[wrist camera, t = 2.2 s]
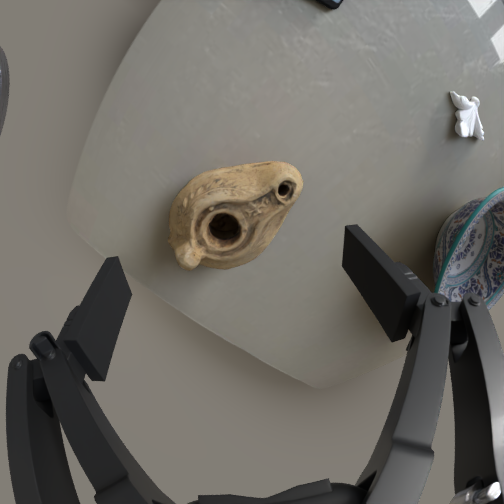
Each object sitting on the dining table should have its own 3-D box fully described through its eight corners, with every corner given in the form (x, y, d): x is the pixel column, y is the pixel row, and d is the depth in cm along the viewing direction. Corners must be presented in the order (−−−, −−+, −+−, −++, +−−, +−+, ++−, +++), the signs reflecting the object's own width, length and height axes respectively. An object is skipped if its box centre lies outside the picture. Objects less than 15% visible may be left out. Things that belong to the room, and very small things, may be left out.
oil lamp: (312, 187, 31) (338, 212, 24) (223, 270, 35) (225, 312, 29) (245, 119, 27) (254, 122, 20) (154, 217, 31) (137, 250, 24)
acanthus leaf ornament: (478, 138, 29) (486, 141, 28) (453, 140, 30) (461, 143, 28) (475, 93, 26) (484, 95, 24) (449, 91, 26) (458, 92, 24)
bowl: (381, 302, 42) (408, 342, 34) (425, 151, 30) (474, 171, 22) (468, 291, 46) (493, 318, 37) (507, 180, 33) (542, 200, 25)
